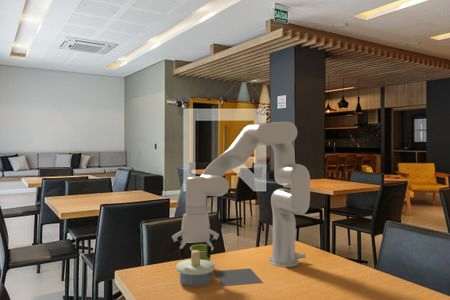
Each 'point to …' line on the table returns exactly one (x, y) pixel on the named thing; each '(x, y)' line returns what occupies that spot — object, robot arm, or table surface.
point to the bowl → (195, 279)
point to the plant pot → (201, 251)
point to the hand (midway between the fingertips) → (195, 257)
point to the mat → (237, 277)
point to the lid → (195, 265)
